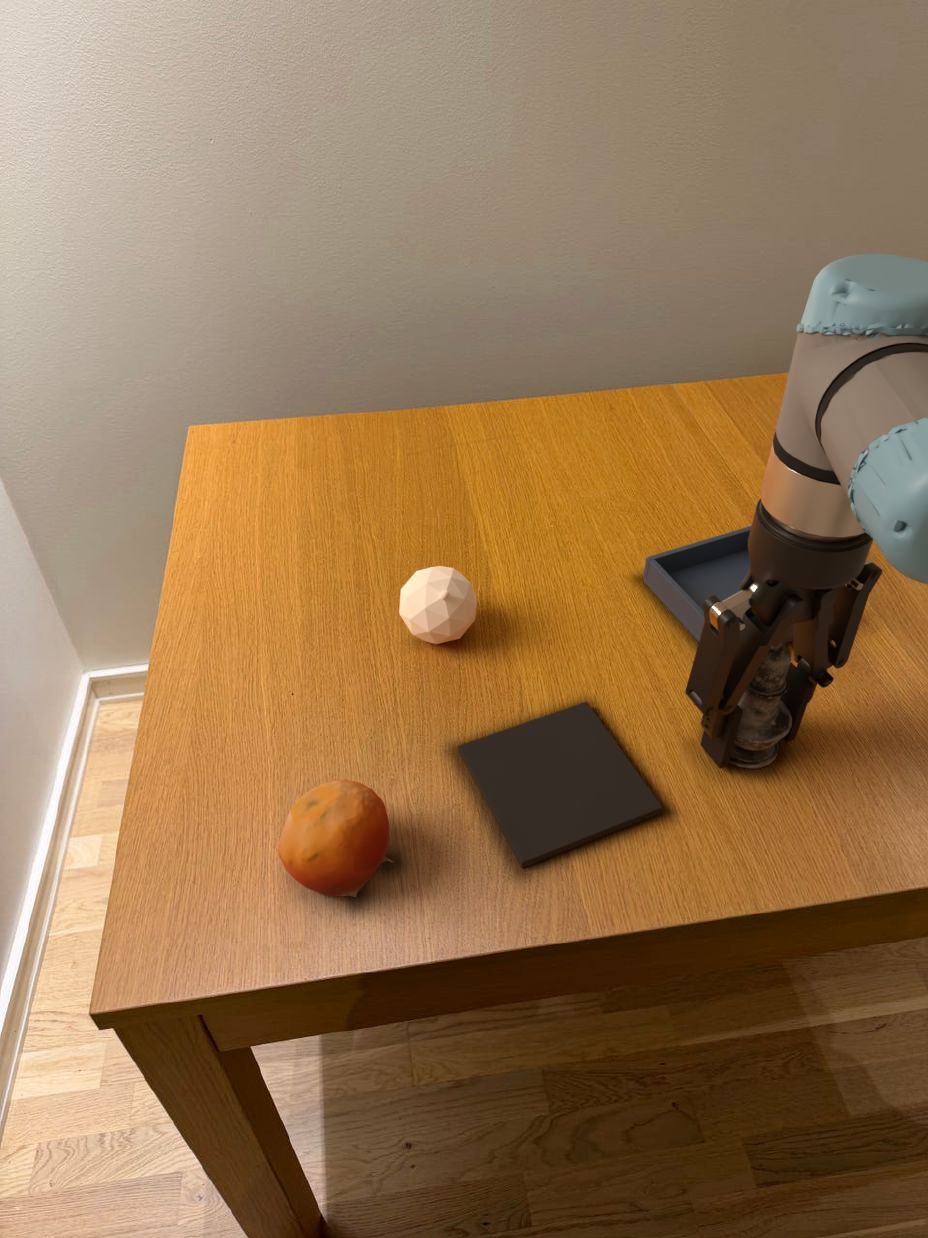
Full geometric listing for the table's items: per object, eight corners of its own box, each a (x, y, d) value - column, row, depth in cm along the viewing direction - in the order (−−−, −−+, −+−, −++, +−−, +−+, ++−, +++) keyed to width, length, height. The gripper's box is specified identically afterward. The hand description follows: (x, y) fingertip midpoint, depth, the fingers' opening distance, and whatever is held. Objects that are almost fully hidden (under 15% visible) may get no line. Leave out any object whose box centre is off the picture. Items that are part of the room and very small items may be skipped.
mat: (661, 813, 68) (663, 807, 68) (521, 869, 65) (522, 863, 65) (586, 707, 77) (586, 701, 76) (458, 751, 73) (457, 745, 73)
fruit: (374, 932, 60) (311, 849, 57) (302, 917, 65) (241, 841, 62) (435, 842, 65) (381, 761, 62) (364, 836, 70) (311, 761, 67)
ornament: (484, 607, 86) (501, 588, 78) (436, 665, 84) (449, 651, 77) (428, 561, 86) (440, 537, 78) (379, 618, 84) (387, 599, 76)
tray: (837, 625, 84) (846, 601, 82) (720, 666, 80) (726, 642, 78) (751, 546, 93) (757, 523, 91) (642, 580, 89) (646, 557, 87)
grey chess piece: (699, 719, 75) (725, 614, 67) (766, 713, 76) (800, 607, 68) (722, 775, 71) (752, 669, 63) (793, 767, 71) (832, 661, 63)
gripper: (890, 449, 63) (810, 678, 78) (660, 514, 57) (624, 746, 73) (974, 504, 57) (871, 738, 73) (730, 582, 52) (675, 816, 68)
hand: (747, 742), depth 73 cm, fingers closed on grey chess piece, 6 cm apart
